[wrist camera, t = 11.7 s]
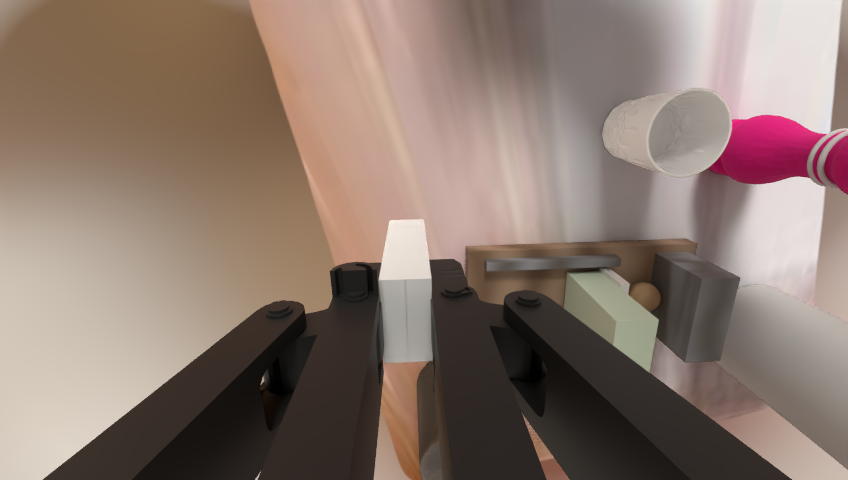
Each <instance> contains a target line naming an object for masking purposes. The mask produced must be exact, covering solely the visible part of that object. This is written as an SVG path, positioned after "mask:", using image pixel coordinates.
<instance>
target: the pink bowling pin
mask: <svg viewBox="0 0 848 480" xmlns="http://www.w3.org/2000/svg"><path fill="white" fill-rule="evenodd" d="M708 168H709V169H710V170H711V171H713V172H715V173H719V174H724V175H729V176H730V177H731V178H732V179H734V180H736V181H738V182H742V183H748V184H765V183H772V182H776V181H780V180H783V179H786V178H790V177H796V176H800V177H808V178H811V180H812V181H813V182H815V183H816V184H818V185H821V186H829V187H832V188H839V189H840V190H841V191H843V192H844V193H846V194H848V129H838V130H835V131H832V132H830V133H828V134H819V133H815V132H812V131H810V130H808V129H807V128H805V127H803V126H802V125H800V124H799V123H797V122H795V121H793V120H790V119H787V118H784V117H781V116H773V115H761V116H756V117H752V118H750V119H747V120H739V119H735V120H732V131H731V135H730V139H729V142H728V144H727V146H726V148H725V150H724V151H723V153H722V154H721V156H720V157H719V158H718V159H717V160H716V161H715V162H714V163H713V164H712V165H711V166H710V167H708Z"/></svg>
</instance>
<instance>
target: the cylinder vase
mask: <svg viewBox="0 0 848 480" xmlns="http://www.w3.org/2000/svg"><path fill="white" fill-rule="evenodd" d="M714 362H715V363H717V364H718V365H719V366H720V367H722V368H723V369H724V370H725V371H726V372H728V373H729V374H730V375H731V376H733V377H734V378H735V379H736V380H738V381H739V382H740V383H741V384H743V385H744V386H745V387H746V388H747V389H749V390H750V391H751V392H752V393H754V394H755V395H756V396H757V397H759V398H760V399H761V400H762V401H764V402H765V403H766V404H767V405H768V406H770V407H771V408H772V409H773V410H775V411H776V412H777V413H778V414H780V415H781V416H782V417H783V418H785V419H786V420H787V421H788V422H790V423H791V424H792V425H793V426H794V427H796V428H797V429H798V430H799V431H801V432H802V433H803V434H804V435H806V436H807V437H808V438H809V439H811V440H812V441H813V442H814V443H815V444H817V445H818V446H819V447H820V448H822V449H823V450H824V451H825V452H827V453H828V454H829V455H830V456H832V457H833V458H834V459H835V460H837V461H838V462H839V463H840V464H842V465H843V466H844V467H845V468H846V469H848V322H847V321H845V320H843V319H841V318H839V317H836V316H834V315H832V314H830V313H828V312H826V311H824V310H822V309H819V308H817V307H815V306H813V305H811V304H809V303H807V302H805V301H803V300H800V299H798V298H796V297H794V296H792V295H790V294H788V293H786V292H784V291H781V290H779V289H777V288H775V287H771V286H767V285H749V286H744V287H740V288H738V289H737V294H736V298H735V302H734V306H733V310H732V314H731V318H730V322H729V327H728V331H727V335H726V339H725V343H724V347H723V351H722V356H721V360H720V361H714Z"/></svg>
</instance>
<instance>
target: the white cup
mask: <svg viewBox="0 0 848 480" xmlns="http://www.w3.org/2000/svg"><path fill="white" fill-rule="evenodd" d="M731 131H732V117H731V112H730V109H729V107H728V105H727V103H726V102H725V100H724V99H723V98H722V97H721V96H720V95H718V94H717V93H715V92H713V91H711V90H708V89H703V88H692V89H686V90H680V91H674V92H667V93H662V94H655V95H650V96H645V97H642V98H639V99H635V100H628V101H625V102H623V103H621V104H620V105H618V106H617V107H615V108H614V109H613V110H612V111H611V113H610V114H609V116H608V117H607V119H606V120H605V122H604V127H603V132H602V137H603V142H604V146H605V148H606V149H607V150H608V151H609V152H610V154H611V155H612V156H614V157H617V158H620V159H622V160H625V161H627V162H628V163H631V164H634V165H636V166H639V167H643V168H646V169H649V170H652V171H655V172H659V173H662V174H665V175H668V176H671V177H689V176H693V175H696V174H698V173H700V172H702V171H704V170H706V169H707V168H708V167H710V166H711V165H712V164H713V163H714V162H715V161H716V160H717V159H718V158H719V157H720V156H721V154H722V153H723V151H724V150H725V148H726V146H727V144H728V142H729V139H730V135H731Z"/></svg>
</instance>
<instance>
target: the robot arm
mask: <svg viewBox="0 0 848 480" xmlns="http://www.w3.org/2000/svg"><path fill="white" fill-rule="evenodd" d="M330 276H331V285H332V295H333V298H332V301H331V303H330V306H329V308H328V309H325V310H322V311H318V312H313V313H308V314H305V310H304V305H303V304H301V303H299V302H294V301H285V300H283V301H279V302H278V301H276V302H273V303H271V304H269V305H266V306H264V307H262V308H260V309H259V310H257V311H256V312H254V313H253V314H252V315H251V316H250V317H248V318H247V319H246V320H245V321H243V322H242V323H241V324H239V325H238V326H237V327H235V328H234V329H233V330H232V331H231V332H229V333H228V334H227V335H225V336H224V337H223V338H222V339H220V340H219V341H218V342H216V343H215V344H214V345H213V346H211V347H210V348H209V349H208V350H206V351H205V352H204V353H203V354H201V355H200V356H199V357H198V358H197V359H195V360H194V361H193V362H191V363H190V364H189V365H187V366H186V367H185V368H184V369H182V370H181V371H180V372H179V373H177V374H176V375H175V376H173V377H172V378H171V379H170V380H168V381H167V382H166V383H165V384H163V385H162V386H161V387H159V388H158V389H157V390H156V391H154V392H153V393H152V394H151V395H150V396H148V397H147V398H146V399H144V400H143V401H142V402H141V403H139V404H138V405H137V406H136V407H134V408H133V409H132V410H130V411H129V412H128V413H127V414H125V415H124V416H123V417H122V418H120V419H119V420H118V421H116V422H115V423H114V424H113V425H111V426H110V427H109V428H108V429H106V430H105V431H104V432H103V433H101V434H100V435H99V436H98V437H96V438H95V439H94V440H92V441H91V442H90V443H89V444H87V445H86V446H85V447H83V448H82V449H81V450H80V451H79V452H77V453H76V454H75V455H73V456H72V457H71V458H70V459H68V460H67V461H66V462H64V463H63V464H62V465H61V466H59V467H58V468H57V469H56V470H54V471H53V472H52V473H51V474H49V475H48V476H47V477H45V478H44V479H43V480H255V478H256V477H257V476H258V474H259V473H260V471H261V473H260V475H259V478H258V480H373V479H374V469H375V458H376V448H377V437H378V427H379V416H380V406H381V396H382V385H383V375H384V371H383V357H384V363H399V362H422V361H433V393H435V400H436V411H437V422H438V434H439V445H440V457H441V468H442V480H546V477H545V475H544V472H543V469H542V467H541V464H540V461H539V458H538V456H537V453H536V450H535V448H534V445H533V442H532V440H531V437H530V434H529V431H528V429H527V426H526V423H525V421H524V418H523V415H524V416H525V418H526V419H527V420H528V422H529V423H530V425H531V426H532V427H533V429H534V430H535V432H536V433H537V434H538V436H539V437H540V438H541V440H542V441H543V443H544V444H545V445H546V447H547V448H548V450H549V451H550V452H551V454H552V455H553V457H554V458H555V459H556V460H557V462H558V463H559V465H560V466H561V468H562V469H563V470H564V472H565V473H566V475H567V476H568V477H569V479H570V480H792V479H790V478H789V477H788V476H786V475H785V474H784V473H782V472H781V471H780V470H778V469H777V468H776V467H774V466H773V465H772V464H770V463H769V462H768V461H766V460H765V459H764V458H762V457H761V456H760V455H758V454H757V453H756V452H754V451H753V450H752V449H751V448H749V447H748V446H746V445H745V444H744V443H743V442H741V441H740V440H739V439H737V438H736V437H735V436H733V435H732V434H731V433H729V432H728V431H727V430H725V429H724V428H723V427H721V426H720V425H719V424H717V423H716V422H715V421H713V420H712V419H711V418H709V417H708V416H707V415H705V414H704V413H703V412H701V411H700V410H699V409H697V408H696V407H695V406H693V405H692V404H691V403H689V402H688V401H687V400H685V399H684V398H683V397H681V396H680V395H679V394H677V393H676V392H675V391H673V390H672V389H671V388H669V387H668V386H667V385H665V384H664V383H663V382H661V381H660V380H659V379H657V378H656V377H655V376H653V375H652V374H651V373H649V372H648V371H647V370H645V369H644V368H643V367H641V366H640V365H639V364H637V363H636V362H635V361H633V360H632V359H631V358H629V357H628V356H627V355H625V354H624V353H623V352H621V351H620V350H619V349H617V348H616V347H615V346H613V345H612V344H611V343H609V342H608V341H607V340H605V339H604V338H603V337H601V336H600V335H599V334H597V333H596V332H595V331H593V330H592V329H591V328H589V327H588V326H587V325H585V324H584V323H583V322H581V321H580V320H579V319H577V318H576V317H575V316H573V315H572V314H571V313H569V312H568V311H567V310H565V309H564V308H563V307H561V306H560V305H559V304H557V303H556V302H555V301H553V300H552V299H551V298H549V297H548V296H546V295H544V294H541V293H538V292H535V291H532V290H530V291H528V290H522V291H515V292H511V293H509V294H507V295H506V296H505V298H504V305H501V304H493V303H487V302H484V301H481V300H479V297H478V294H477V292H476V291H475V290H474V288H472V287H470V286H468V283H467V280H466V277H465V274H464V271H463V268H462V266H461V264H460V263H459V262H457V261H456V260H454V259H440V260H429V256H428V248H427V241H426V233H425V226H424V219H417V220H390V222H389V227H388V232H387V238H386V243H385V248H384V254H383V259H382V263H365V262H352V263H346V264H342V265H339V266H336V267H334V268H333V269H332V270H331V271H330ZM263 376H264V382H263V383H262V384H261V381H262V377H263ZM260 384H261V385H260ZM521 412H522V413H523V415H522V413H521Z"/></svg>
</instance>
